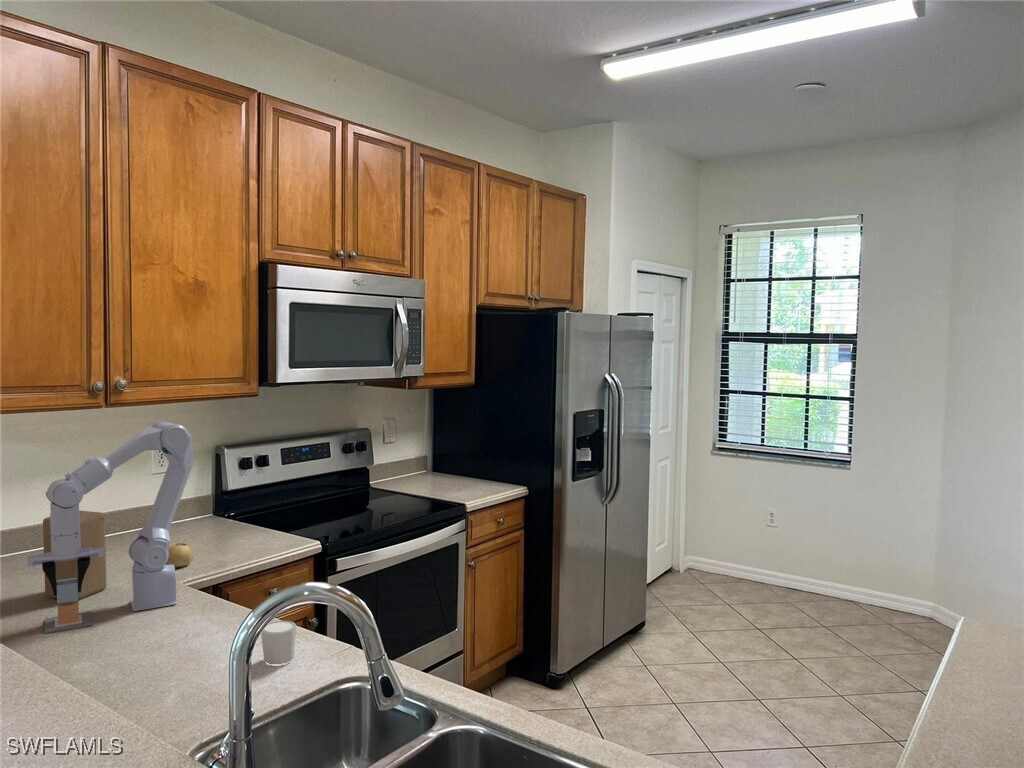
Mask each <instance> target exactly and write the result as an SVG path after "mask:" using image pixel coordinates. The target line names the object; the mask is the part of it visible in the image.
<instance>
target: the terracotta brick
mask: <svg viewBox="0 0 1024 768" xmlns="http://www.w3.org/2000/svg"><path fill="white" fill-rule="evenodd" d="M79 607H80V606H79V600H77V601H70V602H63V603H57V616H58V625H62V624H68V623H74V622H79V613H80V609H79Z"/></svg>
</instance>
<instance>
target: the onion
mask: <svg viewBox="0 0 1024 768" xmlns="http://www.w3.org/2000/svg"><path fill="white" fill-rule="evenodd" d="M186 541H187V539H186V540H184V541H181V542H173V543H171V544H169V547H168V552H169V558H168V561H167V562H166V564H165V565H174V567H175V568H182V567H185V566H188V565H189V564H190V563H191V562H192V561H193V559H194V551H193V549H192V547H191V546H190V545H188V543H187V542H186Z"/></svg>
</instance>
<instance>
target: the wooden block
mask: <svg viewBox="0 0 1024 768" xmlns="http://www.w3.org/2000/svg"><path fill="white" fill-rule="evenodd" d="M79 511H80V535H81V548H96V547H103V555H104V557H100V558H98V557H94V558H90V565H89V567H88V569H87V571H86V573H85V576H84V579H83V582H82V587H81V592H78V601H79V600H82V599H84V598H86V597H89V596H92V595H94V594H96V593H98V592H101V591H103V590H105V589H106V588H107V585H108V584H107V582H108V581H107V554H106V553H107V552H106V551H107V550H106V548H107V547H106V516H105V514H104V513H103V512H100V511H90V510H89V511H87V510H79ZM42 534H43V535H42V536H43V538H42V540H43V553H48V552H51V529H50V516H47V517H45V518H44V519H43V520H42ZM55 565H56V582H57V580H64V579H72V578H77V580H78V565H77V560H70V561H63V562H55ZM44 590H45V591H44V595H45V596H46V597H47V598H50V599H51V598H53V599H57V595H56V596H54V594H53V589H52V586H51V584H50V581H49V579H48V577H47V576H46V574H45V573H44Z"/></svg>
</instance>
